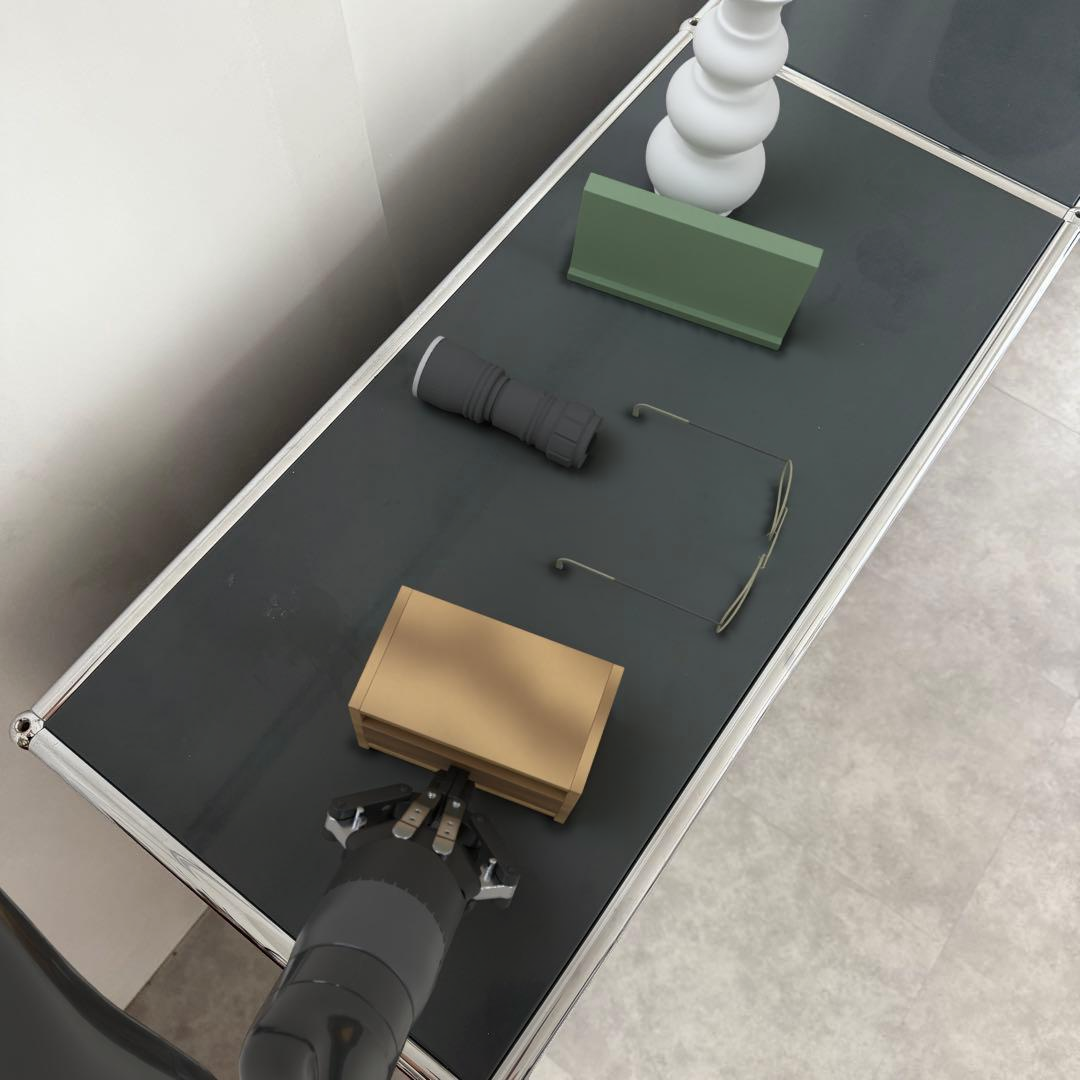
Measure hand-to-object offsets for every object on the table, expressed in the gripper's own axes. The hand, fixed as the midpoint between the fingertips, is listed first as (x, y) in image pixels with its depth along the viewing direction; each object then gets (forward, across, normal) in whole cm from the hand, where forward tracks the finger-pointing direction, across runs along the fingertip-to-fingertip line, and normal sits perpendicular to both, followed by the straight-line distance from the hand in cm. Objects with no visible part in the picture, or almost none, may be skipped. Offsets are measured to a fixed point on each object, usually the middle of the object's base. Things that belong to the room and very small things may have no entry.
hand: (456, 779), depth 75 cm
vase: (+47, 0, -39) cm, 61 cm away
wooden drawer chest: (+8, 0, 0) cm, 8 cm away
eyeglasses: (+23, -9, -15) cm, 29 cm away
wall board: (+38, -2, -30) cm, 49 cm away
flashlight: (+26, +8, -18) cm, 32 cm away
